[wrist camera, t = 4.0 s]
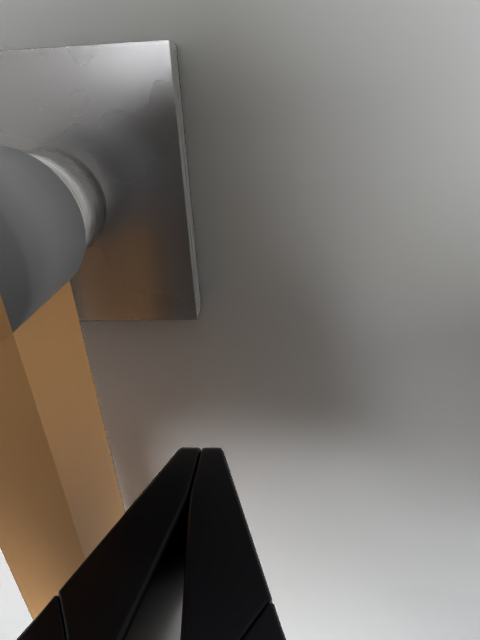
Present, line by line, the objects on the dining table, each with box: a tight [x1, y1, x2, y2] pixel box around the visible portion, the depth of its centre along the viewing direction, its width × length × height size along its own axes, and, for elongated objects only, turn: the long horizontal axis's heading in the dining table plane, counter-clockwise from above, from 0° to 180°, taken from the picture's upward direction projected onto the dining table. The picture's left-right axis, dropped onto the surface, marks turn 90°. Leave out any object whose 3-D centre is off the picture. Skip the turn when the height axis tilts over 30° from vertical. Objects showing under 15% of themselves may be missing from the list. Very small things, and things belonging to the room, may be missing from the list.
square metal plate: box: [0, 40, 201, 321], centre depth 8 cm, size 5×5×2 cm
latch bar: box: [0, 145, 125, 620], centre depth 9 cm, size 2×17×2 cm, turn 3°
